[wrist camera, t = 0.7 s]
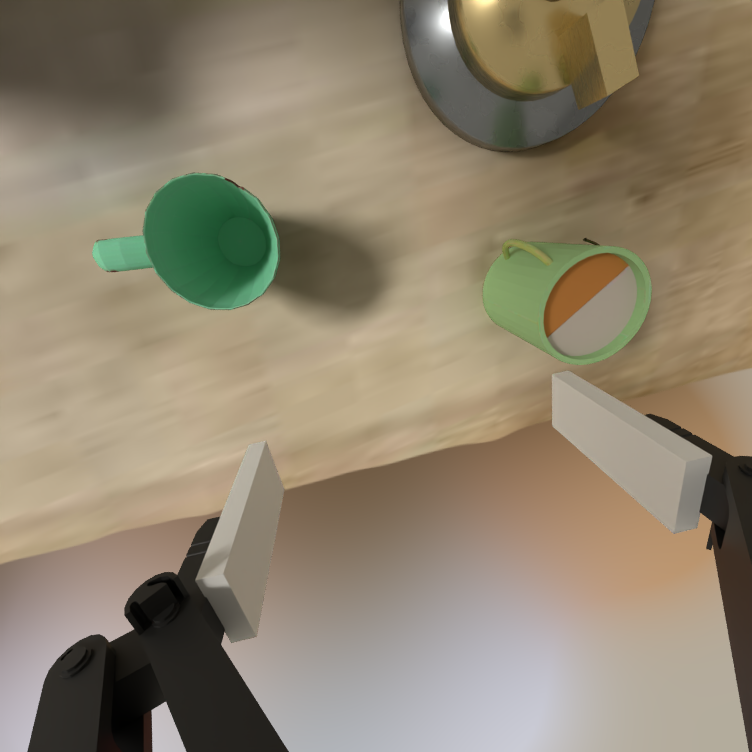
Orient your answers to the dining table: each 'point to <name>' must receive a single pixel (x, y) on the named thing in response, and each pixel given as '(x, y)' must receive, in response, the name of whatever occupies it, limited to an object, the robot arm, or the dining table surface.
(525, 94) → the three-jaw lathe chuck
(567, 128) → the ring
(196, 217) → the mug
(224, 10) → the dining table surface
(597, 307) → the mug
